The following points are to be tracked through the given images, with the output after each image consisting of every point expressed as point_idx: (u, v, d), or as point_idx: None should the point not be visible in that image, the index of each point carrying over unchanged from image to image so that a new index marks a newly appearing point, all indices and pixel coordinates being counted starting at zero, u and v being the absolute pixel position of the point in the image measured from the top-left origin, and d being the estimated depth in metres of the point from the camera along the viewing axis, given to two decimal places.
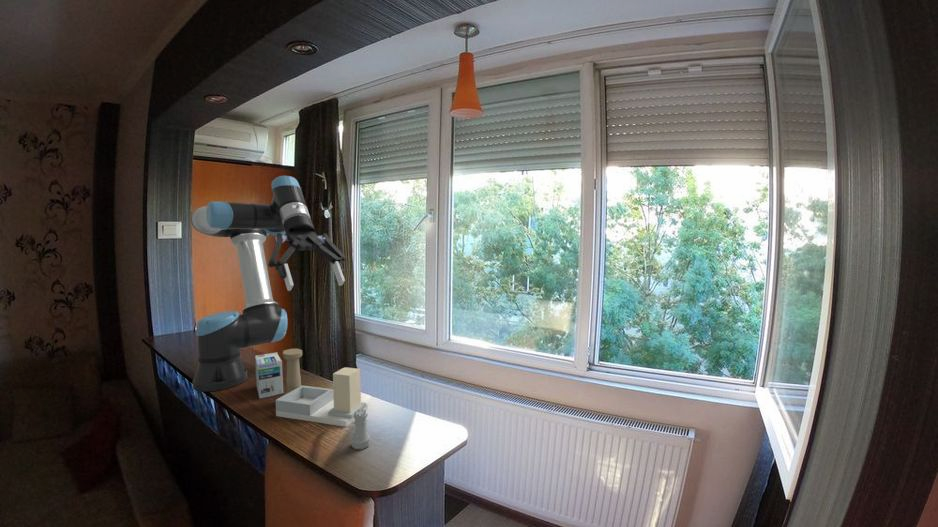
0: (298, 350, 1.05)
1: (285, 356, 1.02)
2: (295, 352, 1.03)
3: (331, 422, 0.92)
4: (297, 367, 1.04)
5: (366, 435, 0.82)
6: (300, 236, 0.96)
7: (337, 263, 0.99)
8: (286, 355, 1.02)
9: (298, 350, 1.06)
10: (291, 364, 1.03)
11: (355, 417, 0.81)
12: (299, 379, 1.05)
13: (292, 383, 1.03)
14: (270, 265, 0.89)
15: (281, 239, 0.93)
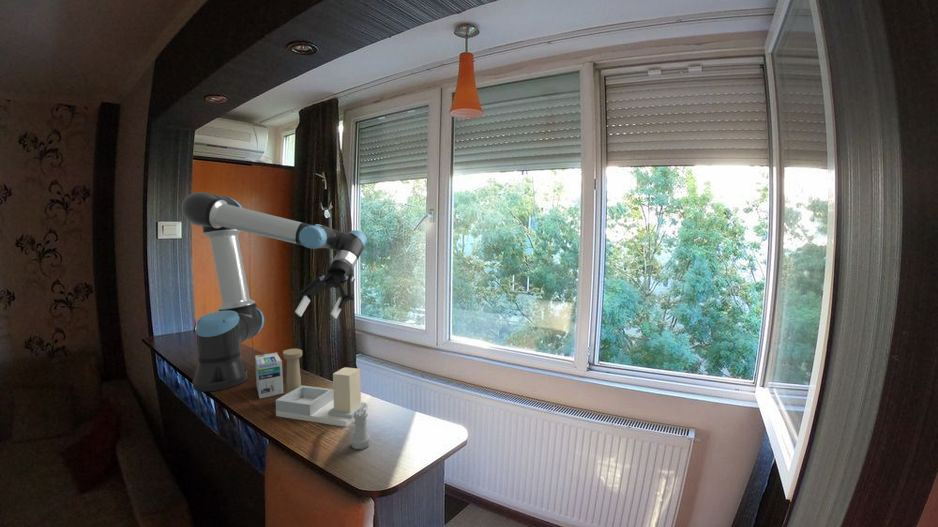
0: (298, 350, 1.05)
1: (285, 356, 1.02)
2: (295, 352, 1.03)
3: (331, 422, 0.92)
4: (297, 367, 1.04)
5: (366, 435, 0.82)
6: None
7: None
8: (286, 355, 1.02)
9: (298, 350, 1.06)
10: (291, 364, 1.03)
11: (355, 417, 0.81)
12: (299, 379, 1.05)
13: (292, 383, 1.03)
14: (350, 297, 1.15)
15: None
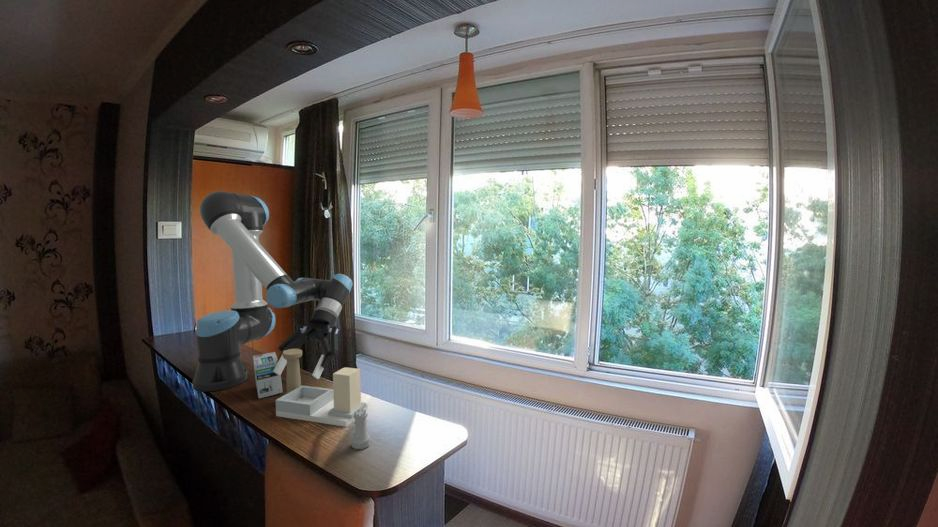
0: (298, 350, 1.05)
1: (285, 356, 1.02)
2: (295, 352, 1.03)
3: (331, 422, 0.92)
4: (297, 367, 1.04)
5: (366, 435, 0.82)
6: None
7: None
8: (286, 355, 1.02)
9: (298, 350, 1.06)
10: (291, 364, 1.03)
11: (355, 417, 0.81)
12: (299, 379, 1.05)
13: (292, 383, 1.03)
14: (333, 354, 1.06)
15: None
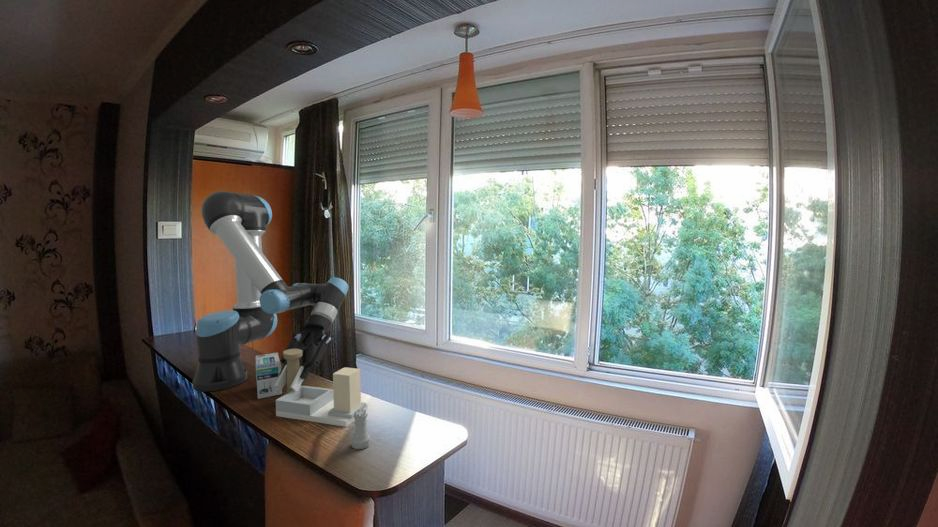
0: (298, 350, 1.05)
1: (285, 356, 1.02)
2: (295, 352, 1.03)
3: (331, 422, 0.92)
4: (297, 367, 1.04)
5: (366, 435, 0.82)
6: None
7: None
8: (286, 355, 1.02)
9: (299, 350, 1.06)
10: (291, 364, 1.03)
11: (355, 417, 0.81)
12: None
13: None
14: (313, 365, 1.04)
15: None
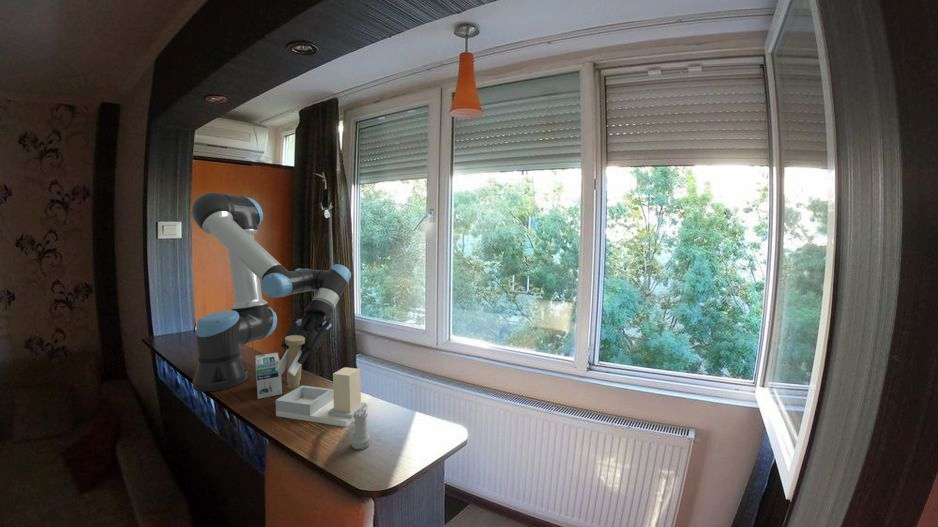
0: (300, 337, 1.05)
1: (288, 342, 1.01)
2: (298, 339, 1.03)
3: (331, 422, 0.92)
4: None
5: (366, 435, 0.82)
6: None
7: None
8: (289, 341, 1.01)
9: (301, 337, 1.05)
10: (294, 351, 1.02)
11: (355, 417, 0.81)
12: (300, 366, 1.04)
13: None
14: (311, 350, 1.04)
15: None
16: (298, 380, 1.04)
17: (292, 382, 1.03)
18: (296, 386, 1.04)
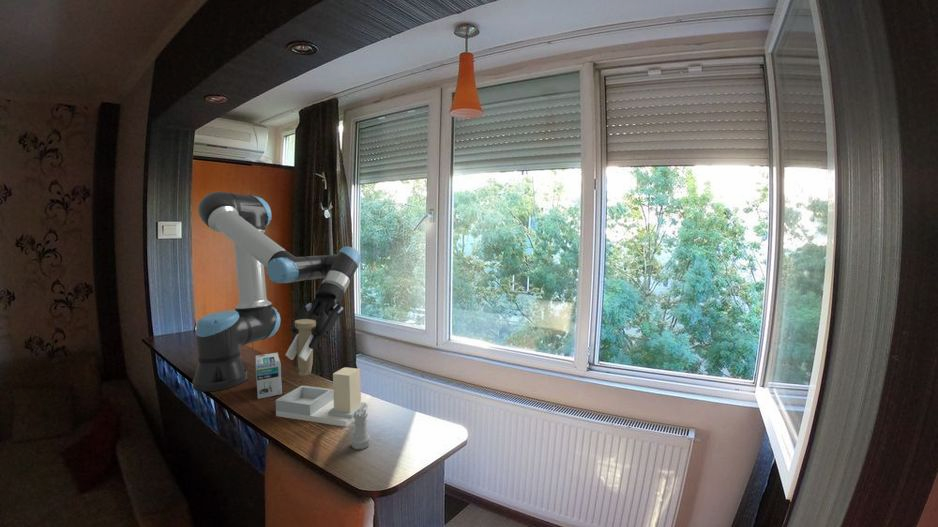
0: (311, 320, 0.99)
1: (298, 325, 0.95)
2: (308, 322, 0.97)
3: (331, 422, 0.92)
4: None
5: (366, 435, 0.82)
6: None
7: None
8: (299, 324, 0.95)
9: (311, 320, 0.99)
10: (304, 335, 0.96)
11: (355, 417, 0.81)
12: (311, 351, 0.98)
13: None
14: (323, 334, 0.98)
15: None
16: (310, 366, 0.98)
17: (304, 368, 0.97)
18: (308, 372, 0.98)
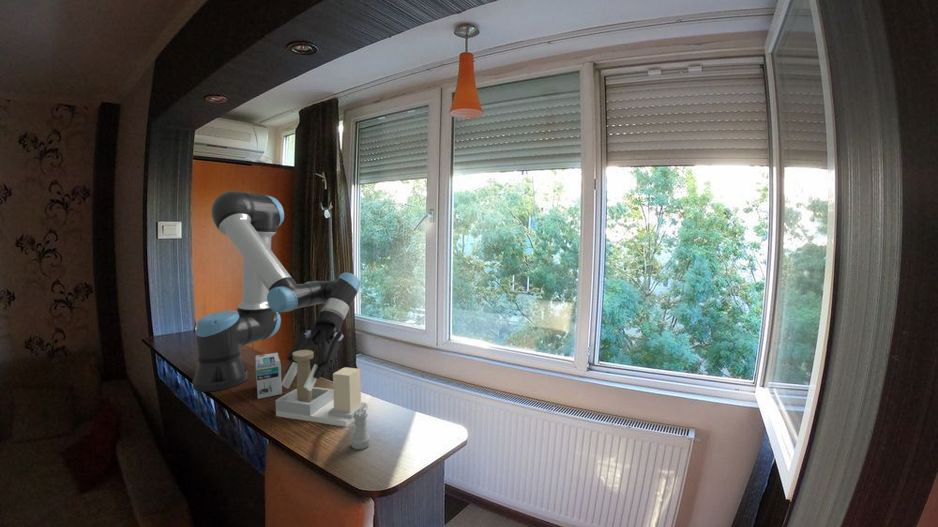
0: (309, 351, 0.99)
1: (296, 358, 0.96)
2: (306, 354, 0.97)
3: (331, 422, 0.92)
4: (308, 369, 0.98)
5: (366, 435, 0.82)
6: None
7: None
8: (297, 357, 0.96)
9: (309, 351, 1.00)
10: (302, 366, 0.97)
11: (355, 417, 0.81)
12: None
13: (303, 386, 0.97)
14: (327, 364, 0.98)
15: None
16: (309, 397, 0.99)
17: (303, 400, 0.97)
18: None
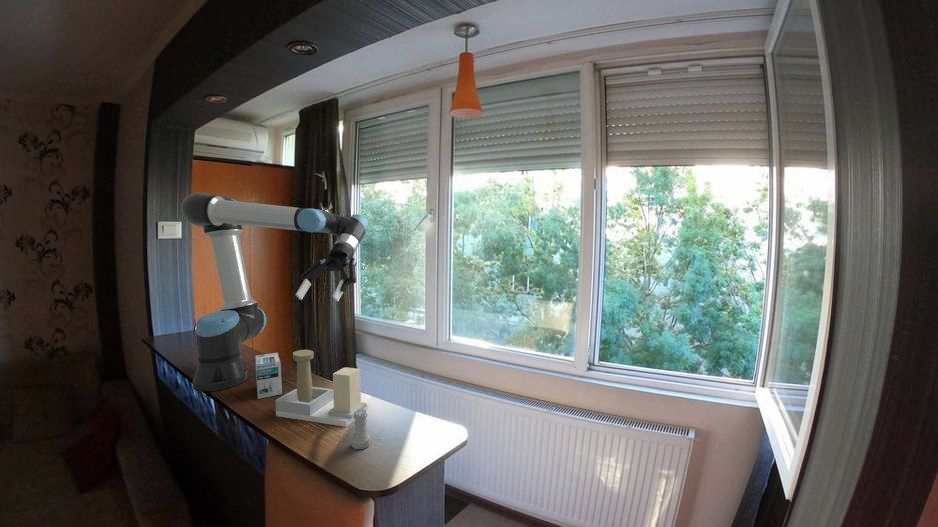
0: (309, 351, 1.00)
1: (296, 358, 0.96)
2: (306, 353, 0.97)
3: (331, 422, 0.92)
4: (308, 369, 0.98)
5: (366, 435, 0.82)
6: None
7: None
8: (297, 357, 0.96)
9: (309, 351, 1.00)
10: (303, 366, 0.97)
11: (355, 417, 0.81)
12: (310, 382, 0.99)
13: (303, 386, 0.97)
14: (352, 279, 1.13)
15: None
16: (309, 397, 0.99)
17: (303, 400, 0.97)
18: None
